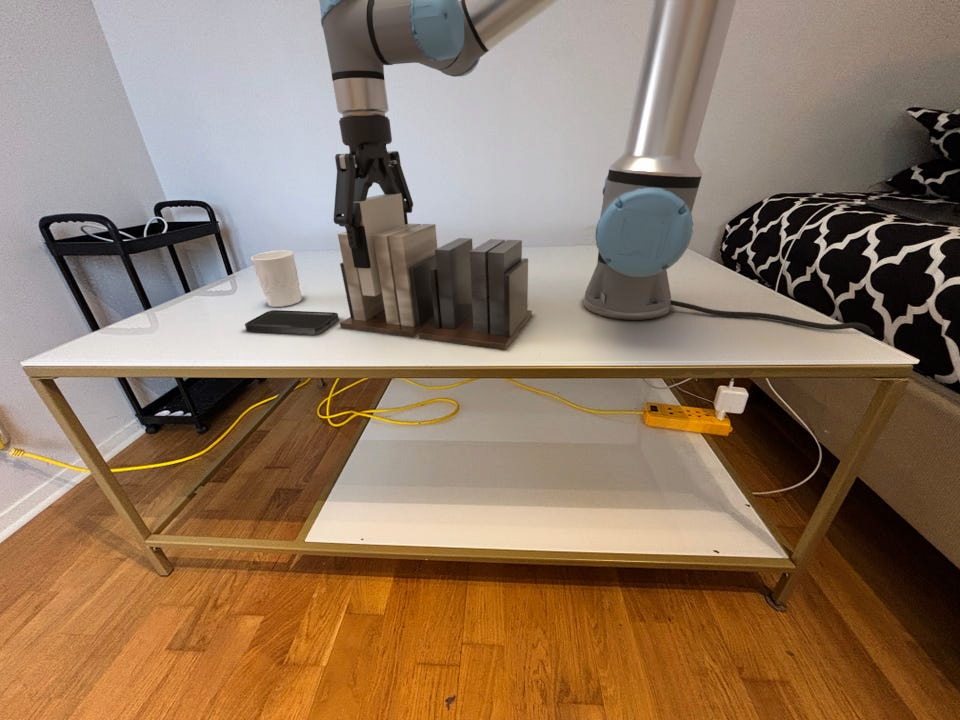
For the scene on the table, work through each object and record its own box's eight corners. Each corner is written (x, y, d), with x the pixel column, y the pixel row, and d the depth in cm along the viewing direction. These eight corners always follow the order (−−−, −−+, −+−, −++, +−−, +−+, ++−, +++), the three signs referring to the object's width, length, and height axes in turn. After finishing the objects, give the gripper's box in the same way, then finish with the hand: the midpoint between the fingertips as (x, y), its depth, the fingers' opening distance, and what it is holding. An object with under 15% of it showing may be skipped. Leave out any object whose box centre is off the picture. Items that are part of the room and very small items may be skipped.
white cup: (286, 309, 83) (273, 260, 79) (256, 306, 86) (241, 258, 81) (312, 297, 90) (301, 251, 85) (283, 294, 92) (271, 249, 88)
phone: (270, 309, 80) (340, 312, 77) (271, 315, 80) (341, 318, 77) (241, 325, 73) (316, 329, 70) (243, 331, 73) (318, 335, 70)
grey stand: (531, 315, 75) (533, 236, 68) (505, 350, 63) (504, 258, 56) (457, 307, 80) (451, 234, 74) (419, 338, 68) (408, 253, 61)
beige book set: (452, 307, 80) (445, 222, 73) (413, 337, 68) (401, 239, 61) (387, 300, 86) (375, 220, 78) (340, 328, 73) (320, 236, 66)
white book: (411, 276, 79) (401, 193, 72) (374, 296, 69) (359, 201, 62) (400, 275, 80) (389, 193, 73) (362, 295, 70) (346, 201, 63)
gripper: (387, 120, 73) (402, 242, 83) (284, 113, 54) (320, 275, 64) (424, 117, 71) (435, 244, 81) (330, 109, 51) (360, 279, 61)
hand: (384, 258), depth 72 cm, fingers closed on white book, 12 cm apart
